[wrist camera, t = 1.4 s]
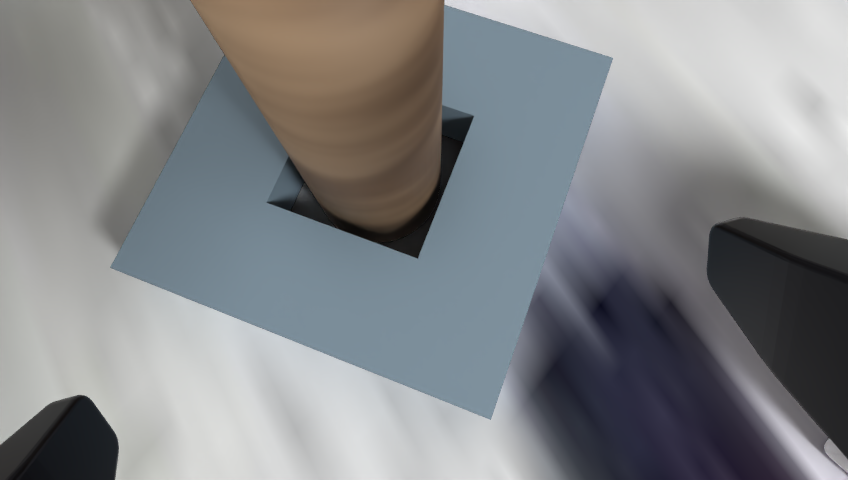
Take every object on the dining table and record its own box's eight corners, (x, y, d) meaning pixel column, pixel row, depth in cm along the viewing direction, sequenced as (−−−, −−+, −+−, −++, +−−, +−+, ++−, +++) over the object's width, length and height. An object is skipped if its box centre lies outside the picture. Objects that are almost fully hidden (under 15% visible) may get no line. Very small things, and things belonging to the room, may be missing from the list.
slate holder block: (484, 416, 20) (490, 419, 18) (146, 281, 22) (110, 267, 19) (594, 92, 23) (612, 57, 21) (294, -5, 25) (279, -47, 23)
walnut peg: (414, 260, 22) (377, 50, 8) (298, 217, 22) (86, -46, 9) (457, 149, 23) (489, -193, 9) (346, 111, 24) (226, -264, 10)
